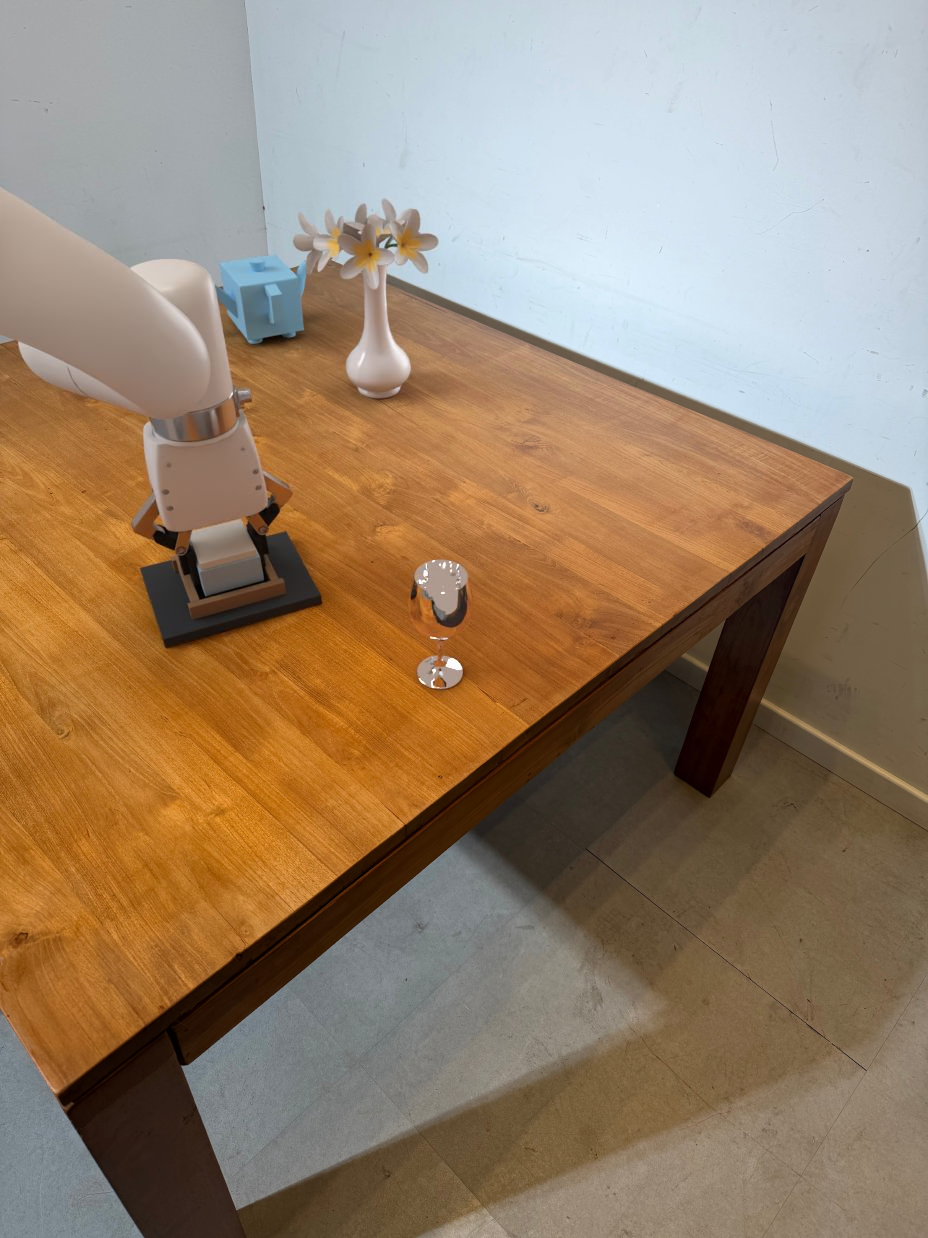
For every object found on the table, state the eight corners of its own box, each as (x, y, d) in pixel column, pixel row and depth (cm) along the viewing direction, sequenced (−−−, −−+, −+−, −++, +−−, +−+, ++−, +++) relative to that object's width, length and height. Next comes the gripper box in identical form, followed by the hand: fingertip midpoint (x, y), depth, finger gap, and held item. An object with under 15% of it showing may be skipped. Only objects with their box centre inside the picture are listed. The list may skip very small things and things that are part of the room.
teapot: (201, 321, 136) (188, 249, 128) (306, 303, 143) (299, 234, 135) (230, 361, 126) (217, 286, 118) (341, 340, 132) (336, 267, 125)
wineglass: (417, 699, 77) (416, 603, 69) (403, 656, 81) (401, 560, 73) (476, 688, 78) (482, 592, 70) (460, 646, 83) (464, 551, 74)
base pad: (165, 648, 81) (159, 627, 79) (142, 576, 89) (136, 555, 87) (322, 603, 87) (319, 583, 85) (287, 539, 94) (284, 519, 93)
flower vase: (319, 366, 126) (302, 186, 109) (441, 372, 125) (443, 193, 108) (302, 408, 116) (280, 218, 99) (433, 415, 116) (434, 226, 99)
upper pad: (205, 596, 83) (198, 565, 80) (192, 562, 87) (184, 531, 84) (264, 580, 85) (258, 549, 82) (248, 547, 89) (242, 517, 86)
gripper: (275, 374, 79) (296, 527, 91) (84, 410, 73) (134, 568, 85) (300, 411, 74) (319, 567, 86) (97, 452, 68) (148, 614, 81)
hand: (226, 566), depth 86 cm, fingers closed on upper pad, 6 cm apart
